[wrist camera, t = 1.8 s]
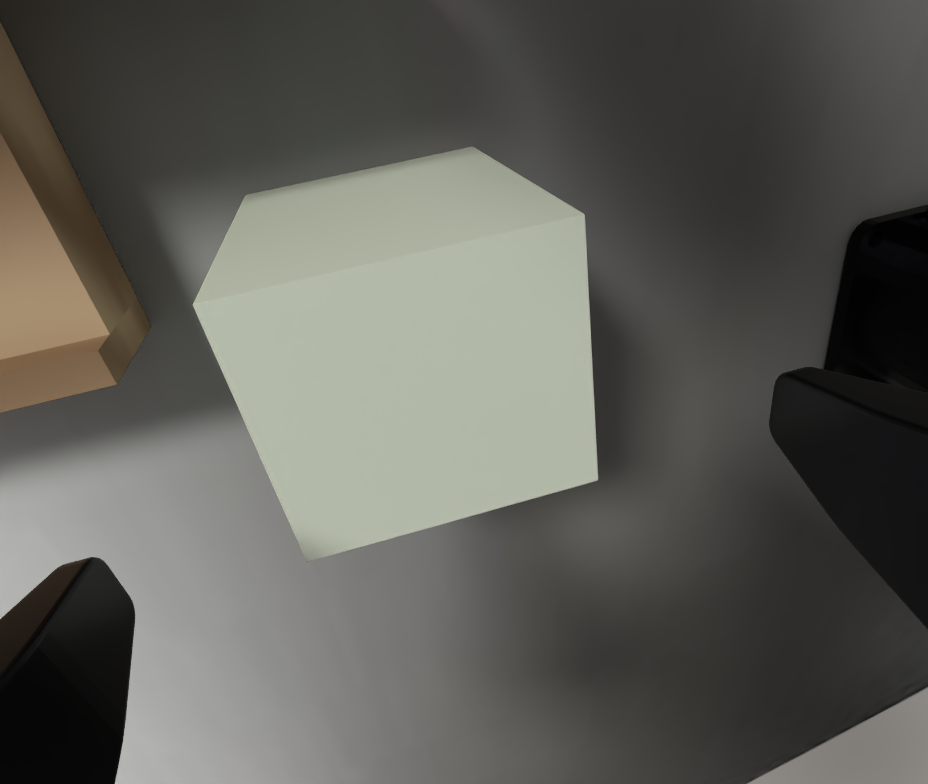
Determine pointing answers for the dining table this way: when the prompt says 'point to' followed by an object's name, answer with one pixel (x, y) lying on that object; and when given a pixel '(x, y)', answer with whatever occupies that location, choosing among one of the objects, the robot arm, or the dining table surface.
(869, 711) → the dining table surface
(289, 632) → the dining table surface
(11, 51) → the light brown t-shaped piece
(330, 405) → the block
